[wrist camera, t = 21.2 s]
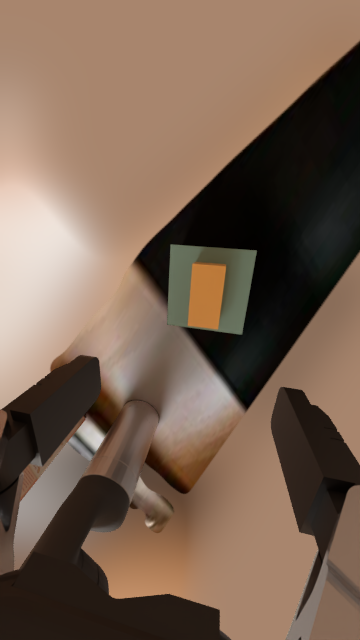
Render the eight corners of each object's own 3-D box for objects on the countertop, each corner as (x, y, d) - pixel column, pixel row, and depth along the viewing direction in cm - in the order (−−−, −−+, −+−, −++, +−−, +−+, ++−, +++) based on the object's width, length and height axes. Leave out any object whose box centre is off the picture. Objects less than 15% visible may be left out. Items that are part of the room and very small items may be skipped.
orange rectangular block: (218, 321, 30) (218, 329, 27) (191, 318, 31) (187, 325, 28) (226, 264, 27) (226, 266, 25) (195, 261, 28) (192, 263, 25)
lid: (241, 332, 31) (241, 334, 30) (168, 322, 33) (167, 324, 32) (255, 250, 27) (256, 250, 26) (172, 244, 29) (170, 244, 28)
